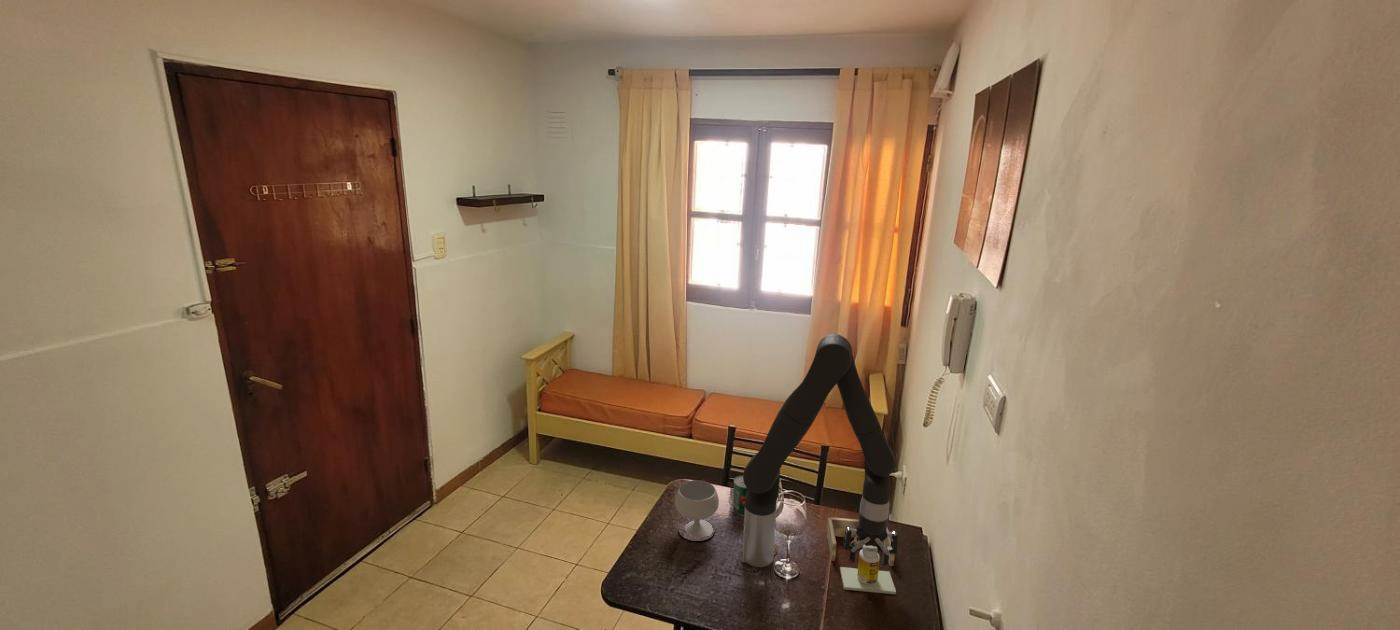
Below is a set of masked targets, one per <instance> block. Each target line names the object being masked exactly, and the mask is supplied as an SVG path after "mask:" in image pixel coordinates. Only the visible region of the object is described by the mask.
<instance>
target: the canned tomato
mask: <svg viewBox="0 0 1400 630" xmlns="http://www.w3.org/2000/svg"><path fill="white" fill-rule="evenodd" d="M747 490H748V489H747V488H746V486H745V484H744V481H743V475H738V476H736V477H735V478H734V479H733V495H732V496H733V497H732V498H733V501H732V503H733V504H732V511H733V510H734V511H733V512H734V514H736V513H737V514H736V515H738V514H739V515H738V516H740V515H743V516H742V517H744V514H745V496H746V493H747Z"/></svg>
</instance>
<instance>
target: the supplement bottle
mask: <svg viewBox="0 0 1400 630" xmlns="http://www.w3.org/2000/svg"><path fill="white" fill-rule="evenodd" d="M880 558H881V556H880V554H879V553H878V547H874V546H865V545H863V546H862V549H860V550H859V554H858V564H857V569H858V573H857V576H858V579H859V580H860V581H861V582H862V583H864V584H867V585H873V584H875V583H876V582H877V580H878V571H880V569H879V568H880V562H881V561H880Z"/></svg>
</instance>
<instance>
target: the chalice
mask: <svg viewBox="0 0 1400 630" xmlns="http://www.w3.org/2000/svg"><path fill="white" fill-rule="evenodd" d="M676 492H677V493H676V496H675V502H674V504H675V508H676V510H677V512H679V513H680V515H681V516H683V517H684V518H686V519H688V520H689V519H693V520H694V521H691V522H689V523H688V524H686V526H685V531H686V532H687V533H688V532H689V533H690V534H691V535H693V536H695V537H697V536H698V537H704V536H705V537H706V536H710V535H711V534H712V532H713V528H712V525H711V524H710V523H711V522H710V521H709V522H710V523H709V522H707V521H708V520H707V521H705V520H706V519H708V518H710V517H712V516H714V514H715V513H716V512H717V510H718V508H719V503H720V502H719V501H720V499H719V495H718V492H717V490H716V487H715V486H714V485H713V484H712V483H710V482H708V481H705V480H701V479H699V480H698V479H696V480H695V479H694V480H688V481H686V482H684V483H682V484H681V485H680V486H679V488H678V490H677V491H676ZM702 519H704V520H702Z"/></svg>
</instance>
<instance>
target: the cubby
mask: <svg viewBox="0 0 1400 630" xmlns="http://www.w3.org/2000/svg"><path fill="white" fill-rule="evenodd" d="M858 521H859V519H856V518H853V519H852V518H841V517H831V516H828V517H827V520H826V522H827V523H826V538H827V544H828V549H829V554H830V555H829V556H830V560H831V561H833V562H835V561H836V553H837V552H836V551H837V541H836V537H841V538H844V535H845V529H846V526H850V528H853V529H856V528H857V527H858ZM886 532H890V530H889V529H888V527H887V530H886ZM856 536H857V534H854V535H853V537H851V539H852V538H853V539H854V538H855V537H856ZM884 542H885V544H886V545H887V547H890V546H891V540H890V539H889V537H887V538H886V539H885V540H884ZM895 555H896V554H893V553H892V554H890V555H889V561H888V564H889V566H890V567H894V563H895Z"/></svg>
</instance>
